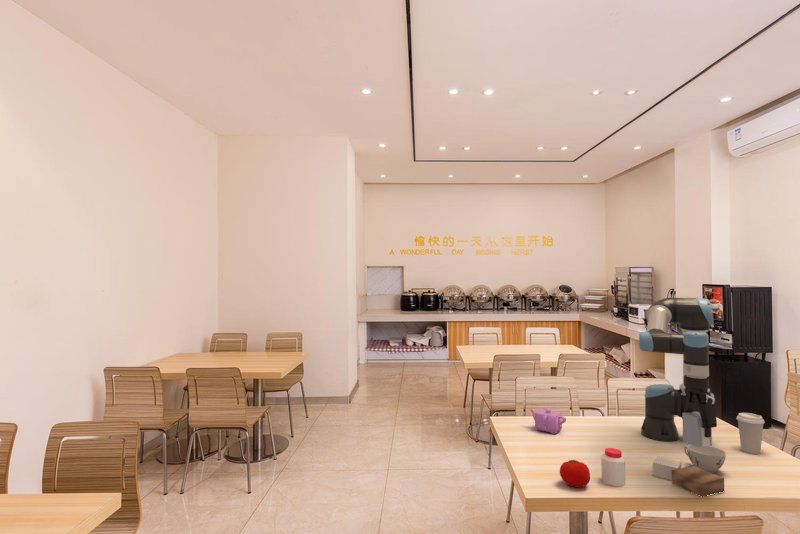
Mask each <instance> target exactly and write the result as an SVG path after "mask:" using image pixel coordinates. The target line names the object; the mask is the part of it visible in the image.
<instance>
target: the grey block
mask: <svg viewBox="0 0 800 534" xmlns="http://www.w3.org/2000/svg"><path fill="white" fill-rule="evenodd" d="M680 468H682V460H678V459H677V460H675V459H673V458H667V457H664V456H659V455H656V457H655V458H654V460H653V462H652V476H653V477H657V478H660V479H665V480H669V481H672V470H675V469H680Z"/></svg>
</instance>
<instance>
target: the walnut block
mask: <svg viewBox="0 0 800 534" xmlns="http://www.w3.org/2000/svg"><path fill="white" fill-rule="evenodd" d="M671 484H672V485H673V486H676V487H679V488H681V489H683V490H685V491H688V492H689V493H691V492H692V494H693V493H694V494H693V495H695V494H697V495H696V496H698V495H700V496H702V497H701V498H704V497H703V496H706V497H708V496H707V495H710V494H714V493H718V494H720V493H719V492H723V491H724V492H725V478H724V477H722V476H719V475H717V474H715V473H710V472H707V471H705V470H703V469H700V468H698V467H695V466H694V465H691V466H686V467H681V468H680V469H675V470H672V480H671ZM724 492H723V493H724ZM714 495H715V494H714ZM700 496H699V497H700ZM710 496H711V495H710Z"/></svg>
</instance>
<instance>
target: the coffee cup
mask: <svg viewBox="0 0 800 534" xmlns="http://www.w3.org/2000/svg"><path fill="white" fill-rule="evenodd" d="M736 420H737V424H738V433H739V441H740V450H741V451H742V452H744V453H747V454H752V455H759V454H760V455H761V450H762V442H763V441H762V439H763V429H764V424H765V423H766V422H765V419H763V416H762V415H759V414H755V413H750V412H738V415H737V416H736Z"/></svg>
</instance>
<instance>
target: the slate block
mask: <svg viewBox="0 0 800 534" xmlns="http://www.w3.org/2000/svg"><path fill="white" fill-rule="evenodd" d="M702 426H703V423H702V419H701V415H700V413H699V412H685V413H683V419H682V442H684V443H686V444H688V445H689V444H691V445H694V446H696V447H702V446H701V427H702ZM712 429H713V427H712V428H711V437H710V446H712V445H713V443H712V442H713V440H712V439H713V435H712V432H713V430H712ZM712 447H713V446H712Z"/></svg>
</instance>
